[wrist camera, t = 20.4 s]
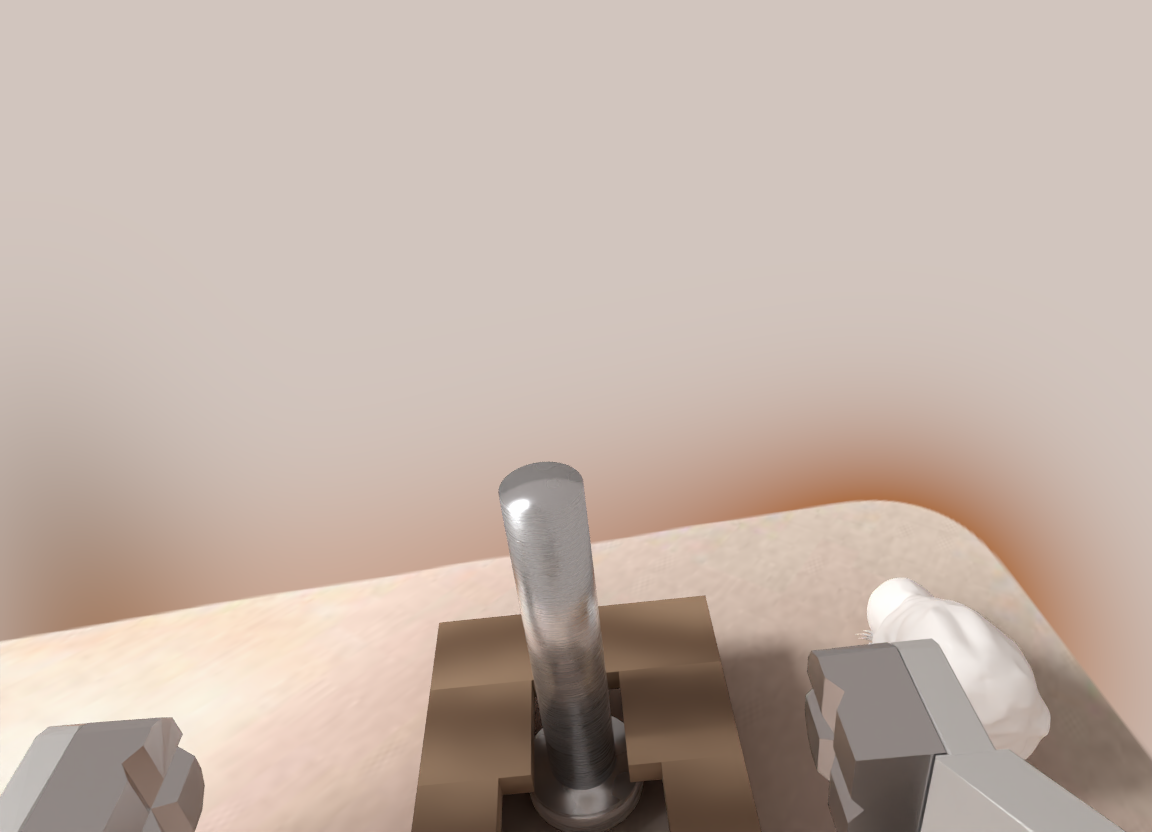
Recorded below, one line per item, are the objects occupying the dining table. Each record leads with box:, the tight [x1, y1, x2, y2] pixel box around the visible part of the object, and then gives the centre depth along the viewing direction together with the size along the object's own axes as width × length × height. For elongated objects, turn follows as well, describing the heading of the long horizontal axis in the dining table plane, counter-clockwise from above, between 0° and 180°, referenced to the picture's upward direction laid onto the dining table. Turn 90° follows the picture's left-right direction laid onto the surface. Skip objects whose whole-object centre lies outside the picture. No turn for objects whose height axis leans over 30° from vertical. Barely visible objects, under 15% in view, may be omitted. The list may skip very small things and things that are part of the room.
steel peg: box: [499, 462, 643, 832], centre depth 36 cm, size 6×6×18 cm
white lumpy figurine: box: [856, 578, 1051, 760], centre depth 40 cm, size 6×8×12 cm
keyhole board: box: [411, 596, 761, 832], centre depth 37 cm, size 19×14×5 cm
